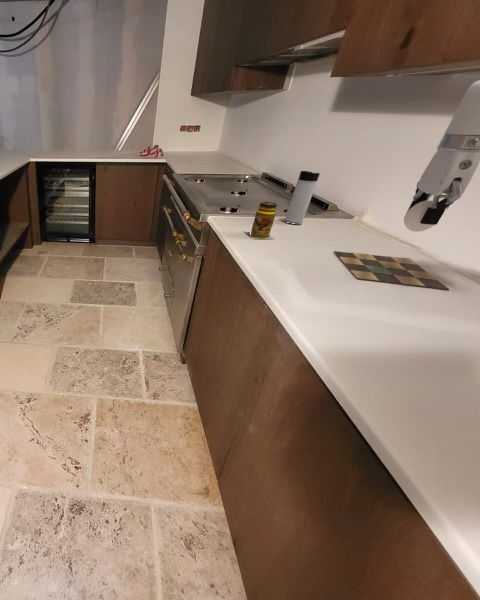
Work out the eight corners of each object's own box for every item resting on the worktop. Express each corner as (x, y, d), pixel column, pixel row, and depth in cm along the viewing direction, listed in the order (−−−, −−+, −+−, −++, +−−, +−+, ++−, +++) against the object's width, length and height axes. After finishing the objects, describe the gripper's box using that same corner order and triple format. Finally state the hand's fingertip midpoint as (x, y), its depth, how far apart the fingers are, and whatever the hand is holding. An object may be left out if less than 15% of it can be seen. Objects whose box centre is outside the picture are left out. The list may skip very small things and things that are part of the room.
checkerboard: (408, 259, 99) (409, 258, 98) (448, 290, 83) (449, 288, 82) (333, 252, 104) (334, 250, 104) (356, 279, 88) (357, 277, 88)
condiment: (253, 239, 115) (263, 205, 108) (243, 231, 122) (252, 199, 116) (274, 239, 114) (285, 205, 108) (262, 231, 122) (272, 199, 115)
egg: (402, 232, 84) (418, 202, 80) (395, 225, 88) (410, 196, 84) (434, 236, 81) (453, 205, 77) (425, 229, 86) (442, 199, 82)
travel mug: (280, 221, 131) (297, 170, 121) (290, 219, 134) (307, 168, 123) (295, 226, 126) (313, 172, 116) (305, 223, 129) (324, 170, 119)
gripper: (512, 148, 66) (459, 232, 75) (459, 140, 80) (420, 211, 89) (466, 147, 68) (420, 228, 77) (421, 139, 82) (387, 209, 91)
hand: (420, 219), depth 83 cm, fingers closed on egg, 6 cm apart
